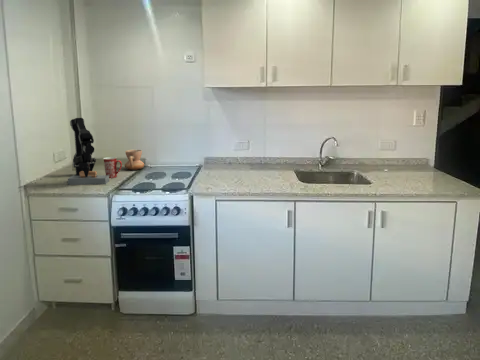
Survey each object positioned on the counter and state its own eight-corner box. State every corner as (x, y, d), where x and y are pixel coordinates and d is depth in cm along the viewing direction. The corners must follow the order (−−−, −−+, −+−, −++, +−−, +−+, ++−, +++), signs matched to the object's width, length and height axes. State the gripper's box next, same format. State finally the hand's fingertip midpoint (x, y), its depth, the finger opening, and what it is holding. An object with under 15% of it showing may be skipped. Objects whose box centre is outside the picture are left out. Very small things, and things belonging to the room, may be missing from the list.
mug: (102, 178, 306) (100, 158, 303) (108, 175, 315) (107, 156, 312) (119, 178, 304) (118, 159, 301) (125, 176, 313) (123, 157, 310)
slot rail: (72, 181, 296) (72, 175, 295) (109, 181, 297) (108, 175, 296) (68, 184, 288) (67, 178, 287) (105, 184, 288) (105, 178, 287)
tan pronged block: (81, 180, 294) (81, 171, 292) (97, 180, 294) (96, 171, 293) (80, 182, 290) (79, 172, 289) (95, 181, 291) (94, 172, 289)
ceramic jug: (128, 166, 345) (127, 148, 342) (147, 167, 344) (146, 148, 341) (120, 171, 328) (119, 152, 325) (140, 171, 327) (139, 152, 323)
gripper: (78, 149, 297) (80, 172, 300) (69, 154, 278) (71, 178, 282) (95, 149, 297) (97, 172, 300) (87, 154, 279) (89, 178, 282)
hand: (88, 175), depth 291 cm, fingers open, 8 cm apart
